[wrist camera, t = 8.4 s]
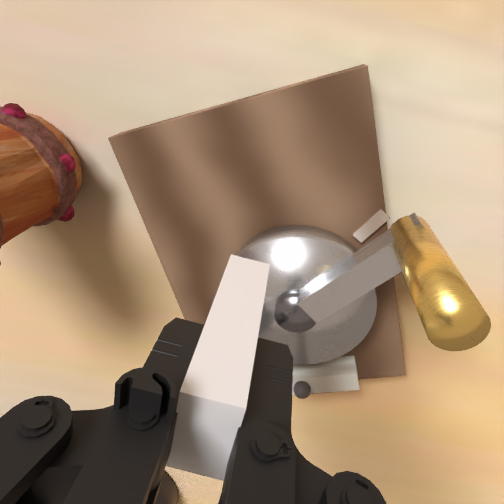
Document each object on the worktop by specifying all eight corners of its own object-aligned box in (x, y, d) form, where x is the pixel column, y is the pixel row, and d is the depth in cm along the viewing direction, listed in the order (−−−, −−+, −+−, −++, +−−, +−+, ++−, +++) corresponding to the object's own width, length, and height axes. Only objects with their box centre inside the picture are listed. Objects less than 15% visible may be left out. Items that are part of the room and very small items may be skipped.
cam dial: (289, 366, 32) (280, 500, 23) (197, 281, 30) (142, 392, 20) (464, 267, 26) (553, 395, 16) (367, 145, 23) (406, 214, 13)
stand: (220, 375, 38) (207, 418, 33) (121, 132, 27) (84, 148, 23) (402, 357, 33) (416, 404, 29) (366, 63, 23) (379, 67, 19)
